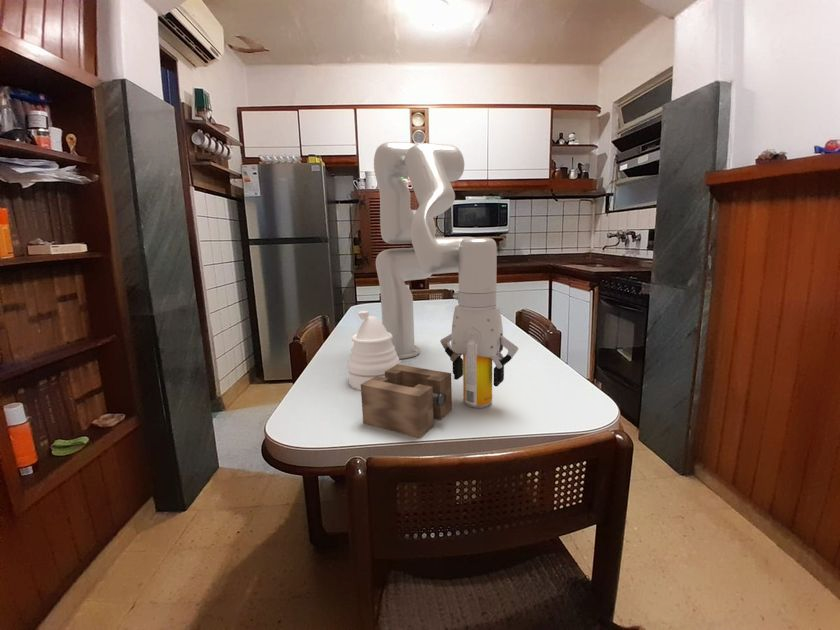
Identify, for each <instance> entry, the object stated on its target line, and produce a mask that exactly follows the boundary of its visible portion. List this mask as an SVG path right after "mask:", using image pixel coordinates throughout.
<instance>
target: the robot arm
mask: <svg viewBox="0 0 840 630" xmlns="http://www.w3.org/2000/svg"><path fill="white" fill-rule="evenodd" d="M373 157H374V158H373V169H374V170H373V171H374V176H375V179H376V182H377V186H378V187H377V188H378V191H379V204H380V205H379V218H380V219H379V224H380V235H381V238H382V240H383V242H385V243H387V244H390V245H400V244H401V245H404V244H407V245H408V244H412V247H407V248H406V247H401V248H397V247H396V248H388V249H385V250H382V251H380V252H379V253H378V254H377V256H376V257H375V258H376V259H375V269H376V273H377V279H378V283H379V291H380V292H379V293H380V307H381V308H380V309H381V322H382V324H383V325H384V327H385V329H386V330H387V332H389V333H391V334H392V336H393V337H392V339H391V341H392V344H393V345H394V347H395V351H396V353H397V356H398V357H399V360H402V359H409V358H413V357H416V356H418V355H419V354H420V352H421V349H420V347H419V346H418V345H415V324H414V323H415V321H414V320H415V318H414V298H413V297H414V296H413V293H412V291H411V290H410V288H409V287H408V286H407V285H406V283H405V282H407V281H417V280H425V279H428V278H430V277H431V276H433V275H440V274H451V273H458V291H457V292H454V293H453V294H452V298H453V300H457V303H458V304H457V305H455V306H454V310H453V316H452V323H451V333H450V334H448V335H446V336H445V337H443V338H442V339H440V344H441V346H442V347H443V349H444V352H445V353H446V354H447V356H448V357H449V360H450V361H451V362H452V374H453V379H454V380H459V379H460V378H462V377H463V357H462V356H463V355H466V354H467V343H469V341H475V342H476V344H478V345H477V350H478V356H480V357H484V358H491V359H492V363H494V365H495V367H494V368H493V386H494V387H499V386H500V384H501V383H502V382H504V380H505V379H504V377H505V365H506V364H508V363H509V362H510V361H511V360H512V359H513V357H514V356H516V354H517V353H518V351H519V347H518V346H517V345H515V344H514V343H513V342H511V341H510V340H509V339H507V338H506V337H504V331H503V329H504V328H503V320H502V315H501V309H500V306H498V305H497V276H498V275H497V269H498V267H497V266H498V265H497V263H498V261H497V252H498V251H497V242H496V240H494V239H493V238H490V237H472V236H449V237H448V236H447V237H446V236H445V237H442V236H441V237H436V224H435V219H434V218H435V217H437V216H439V215H442V214H444V213H445V212H446V211H448V210H449V209H450V208H451V207H452V206H453V204H454V203H455V199H456V193H455V191H454V188H453V186H452V183H453V182H456V181H458V180H460V179H461V178H462V176H463V173H464V171H465V158H464V155H463V153H462V152H461V150H460V149H459V148H458V147H457V146H455V145H454V144H443V143H441V144H439V143H430V142H421V143H415V142H405V141H390V142H384V143H381V144H380V145H379V146H377V147H376V150H375V153H374V155H373ZM403 178H409V181H410V183H411V186H412V188H413V189H412V190H413V192H414V194H415V195H414V196H415V198H416V200H417V203H418V207H417V209H412V208H411V191H410V190H409V189H410V188H408V185H407V184H406V182H405V181H404V179H403ZM451 182H452V183H451ZM504 348H505V349H506V350H507V354H506V355H505V356H504V355H503V354H502V351H503V349H504Z"/></svg>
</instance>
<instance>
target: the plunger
mask: <svg viewBox="0 0 840 630" xmlns="http://www.w3.org/2000/svg"><path fill="white" fill-rule="evenodd" d="M433 403H435V404H437V406H440V407H443V406H444V405H445V403H446V394H445V393H441V392H440V393H439V394H436V393H433Z"/></svg>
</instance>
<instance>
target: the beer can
mask: <svg viewBox="0 0 840 630" xmlns="http://www.w3.org/2000/svg"><path fill="white" fill-rule="evenodd" d="M477 345H478V344H476V342H475V341H469V343H467V354H466V355H462V359H463V376H462V377H463V378H462V379H463V380H462V384H463V386H462V387H463V390H462V391H463V394H462V395H463V396H462V397H463V401H464V402H465V404H466V405H467V406H468V407H471V408H475V409H481V408H487V407H489V405H490V404H491V403H492V401H493V360H492V359H491V358H484V357H480V356H478V350H477Z"/></svg>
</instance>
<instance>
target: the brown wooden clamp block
mask: <svg viewBox="0 0 840 630" xmlns="http://www.w3.org/2000/svg"><path fill="white" fill-rule="evenodd" d="M452 391H453V390H452V372H446V371H440V370H433V369H428V368H423V367H416V366H410V365H402V364H400V365H399V364H397V365H396V366H394V367H392V368H390V369H388V370H386V371H385V378H384V377H378V376H375V377H373V378H372V379H370V380H368V381H366V382H364V383H362V384H361V390H360V393H361V394H360V395H361V408H362V409H361V411H362V423H363V424H365V423H366V425H369V424H371V425H370V426H373V425H374V427H377V428H381V429H385V430H387V431H388V430H389V431H392V432H396V433H400V434H404V435H407V436H411V437H414V438H415V437H416V438H419V439H422V437H424V435H426V434H427V433H428V432H429V431H430V430H431V429H432V428H433V427H434V425H435V424H434V423H435V422H434V419H436V420H442V419H443V418H444V417H445V416H446V415H448V414H449V413H450V412H451V411H452V410H453V402H452V401H453V400H452V399H453V395H452ZM440 392H441V393H445V394H446V403H445V405H444V406H443V407H440V406H437V404H435V403H433V393H436V394H439V393H440Z"/></svg>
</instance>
